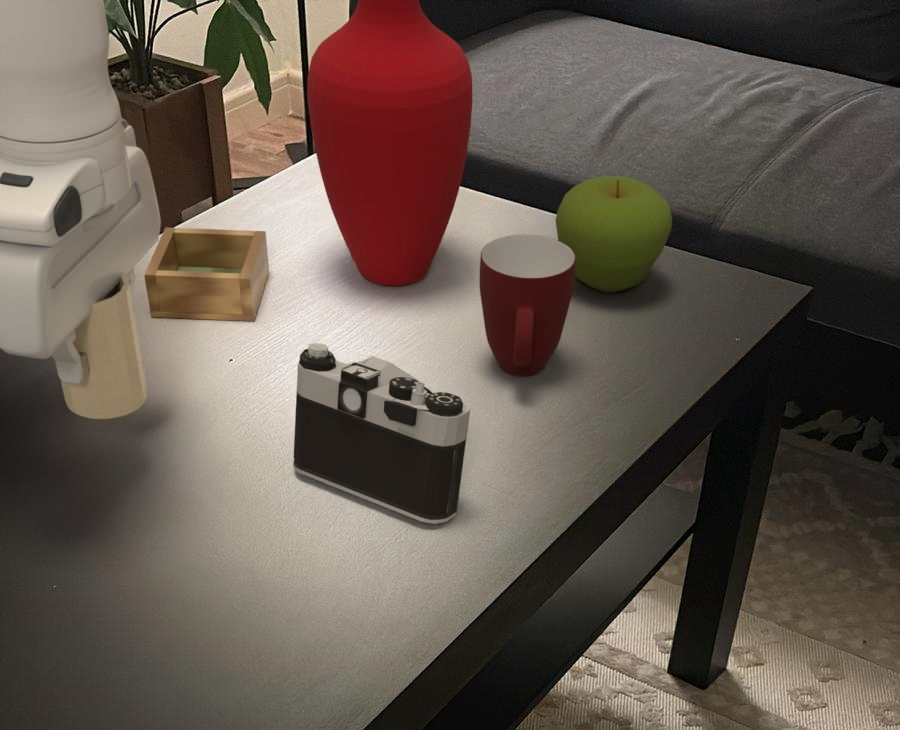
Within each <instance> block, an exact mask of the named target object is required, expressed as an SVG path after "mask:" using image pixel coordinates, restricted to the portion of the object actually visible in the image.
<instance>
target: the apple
mask: <svg viewBox="0 0 900 730" xmlns="http://www.w3.org/2000/svg"><path fill="white" fill-rule="evenodd" d="M555 227H556V233H557V234H556V236H557V240H558V241H560V242H562V243H564V244H566V245H567V246H568V247H570V248H571V249H572V251H573V252H574V254H575V257H576V264H575V277H576V278H577V279H579V280H580V281H581V282H583V283H584V284H585V285H587V286H588V287H589V288H592V289H594V290H596V291H599V292H603V293H611V294H612V293H618V292H621V291H624V290H626V289H627V290H628V289H629V288H632V287H634V286H636V285H638V284H640V283H641V282H642V281H643V280H644V279H645V277H646V276H647V275H648V273H649V272H650V270H651V269H652V267H653V266H654V264H655V263H656V262H657V260H658V258H660V256H661V254H662V253H663V250H664V248H665V246H666V243H667V242H668V238H669V236H670V233H671V231H672V227H673V215H672V211H671V207H670V202H669V201H668V200H667V199H666V198H665V197H664V196H662V195H661V194H660V193H659V192H658V191H656V190H655V189H653V187H651V186H649V185H648V184H646V183H644V182H643V181H641V180H639V179H635V178H632V177H629V176H617V175H616V176H614V175H611V176H597V177H592V178H590V179H586V180H584V181H582V182H580V183H578V184H577V185H575V186H573V187H572V188H571V189H570V190H569V191H567V192H566V193H565V194H564V197H563V198H562V201H561V203H560V204H559V206H558V209H557V210H556V216H555Z"/></svg>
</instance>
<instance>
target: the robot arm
mask: <svg viewBox="0 0 900 730" xmlns="http://www.w3.org/2000/svg"><path fill="white" fill-rule="evenodd" d="M105 9H106V8H105V3H104V0H0V350H2V351H3V352H4V353H6V354H8V355H12V356H17V357H22V358H28V359H35V360H47V359H49V358H50V357H51V358H52V359H53V361H54V363H55V368H56V371H57V372H56V373H57V376H58V378H59V380H60V379H61V380H62V381H63V382H67V383H73V384H79V383H81V381H82V380H83V379H84V378H85V377H86V375H87V374H88V373H89V367H88V365H87V364H88V360H87V355H86V353H83V352H78V351H77V350H76V348H75V346H74V345H73V342H74V341H75V340H76V334H75V329H76V328H77V327H78V326H79V325H80V324H81V322H82V321H83V320H84V319H85V318H86V317H87V316H88V315H89V314H90V313H91V312H92V307H93V304H94V303H95V302H100V301H102V300H103V299H104V298H105V297H106V296H107V295H108V294H109V293H110V292H111V290H112V289H113V288H114V287H115V286H116V285H117V284H118V283H119V282H120V276H121V274H122V273H123V274H125V275H126V276H127V278H128V281H129V283H130V290H131V296H132V297H133V293H134V287H135V279H136V278H135V277H136V274H135V269H134V267H135V266H136V265H137V264H138V263H139V262H140V261H141V259H143V258H144V256H145V255H146V254H148V252H149V251H150V250H151V249H152V248H153V247H155V245H156V243H158V242H159V240H160V232H161V224H162V223H161V221H162V220H161V214H160V213H161V212H160V208H159V203H158V198H157V193H156V189H155V184H154V183H155V182H154V180H153V175H152V171H151V167H150V164H149V161H148V158H147V156H146V154H145V152H144V151H143V149H141V148H140V147H137V140H136V134H135V130H134V128H133V126H132V125H130V124H129V122H128V121H127V120H126V119H124V118H123V117H122V112H121V106H120V102H119V99H118V97H117V94H116V92H115V90H114V88H113V86H112V83H111V79H110V74H109V65H108V64H109V63H108V61H109V60H108V59H109V51H110V50H109V49H110V33H109V28H108V20H107V15H106V10H105Z"/></svg>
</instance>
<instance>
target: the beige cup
mask: <svg viewBox="0 0 900 730" xmlns="http://www.w3.org/2000/svg"><path fill="white" fill-rule="evenodd" d="M135 314H136V313H135V309H134V302H133V295H132V296H131V290H130V283H129V281H128V278H127V276H126V275H125V274H123V273H122V274H121V276H120V282H119V283H118V284H117V285H116V286H115V287H114V288H113V289H112V290H111V292H110V293H109V294H108V295H107V296H106V297H105V298H104V299H103V300H102V301H100V302H95V303H94V304H93V307H92V312H91V313H90V314H89V315H88V316H87V317H86V318H85V319H84V320H83V321H82V322H81V324H80V325H79V326H78V327H77V328H76V329H75V334H76V340H75V341H74V342H73V345H74V346H75V348H76V350H77V351H78V352H83V353H86V355H87V360H88V364H87V365H88V367H89V373H88V374H87V375H86V377H85V378H84V379H83V380H82V381H81V383H79V384H73V383H67V382H63V381H62V380H61V379H60V378H59V382H60V385H61V391H62V396H63V398H64V403H65V405H66V407H67V408H68V409H69V410H70V412H72V413H74V414H75V415H77V416H80V417H83V418H88V419H93V420H108V419H109V420H110V419H115V418H120V417H124V416H126V415H129V414H131V413H133V412H135V411H137V410H138V409H140V408H141V407H142V406H143V405H144V404H145V402H146V400H147V397H148V392H147V391H148V388H147V381H146V375H145V370H144V363H143V358H142V351H141V344H140V339H139V333H138V326H137V321H136V315H135Z"/></svg>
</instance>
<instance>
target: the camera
mask: <svg viewBox="0 0 900 730" xmlns="http://www.w3.org/2000/svg"><path fill="white" fill-rule="evenodd" d="M296 373H297V375H296V395H295V397H296V398H295V415H294V416H295V419H294V437H293V465H292V466H293V467H292V468H293V469H294V470H295V472H297V473H298V474H301V475H303V476H305V477H309V478H311V479H313V480H316V481H318V482H321V483H324V484H325V485H328V486H331V487H334V488H336V489H339V490H341V491H344V492H347V493H348V494H351V495H353V496H356V497H358V498H362V499H363V500H366V501H369V502H371V503H374V504H376V505H378V506H381V507H383V508H386V509H389V510H391V511H394V512H396V513H399V514H402V515H404V516H407V517H409V518H411V519H414V520H416V521H419V522H421V523H428V524H433V525H435V524H443V523H447V522H448V521H450V520H452V519H453V518H454V517H456V516H457V513H458V506H459V498H460V491H461V483H462V475H463V468H464V459H465V452H466V451H465V450H466V446H467V438H468V437H467V436H468V430H469V429H468V428H469V423H470V414H471V408H470V407H468V406H465V405H464V402H463V400H462V399H461V397H460V396H458V395H456V394H453V393H449V392H443V391H438V392H432V391H431V390H430V389H429V388H428V387H426V386H425V382H421V381H420V380H419V379H418V378H416V377H414V376H413V375H411V374H410V373H408V372H406V371H405V370H404V369H402V368H400V367H398V366H397V365H395V364H394V363H392V362H391V361H388V360H385V359H382V358H379V357H376V356H373V355H371V356H369V357H367V358H365V359H363V360H360V361H352V362H349V363H344V362H342V361H338V360H337V358H336V357H335V355H334V353H333V352H332V351H330V350H329V346H328V345H326V344H324V343H319V342H314V343H309V344H308V347H307V348H304V349H303V351H302V352H301V353H300V354H299V360H298V363H297V372H296Z"/></svg>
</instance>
